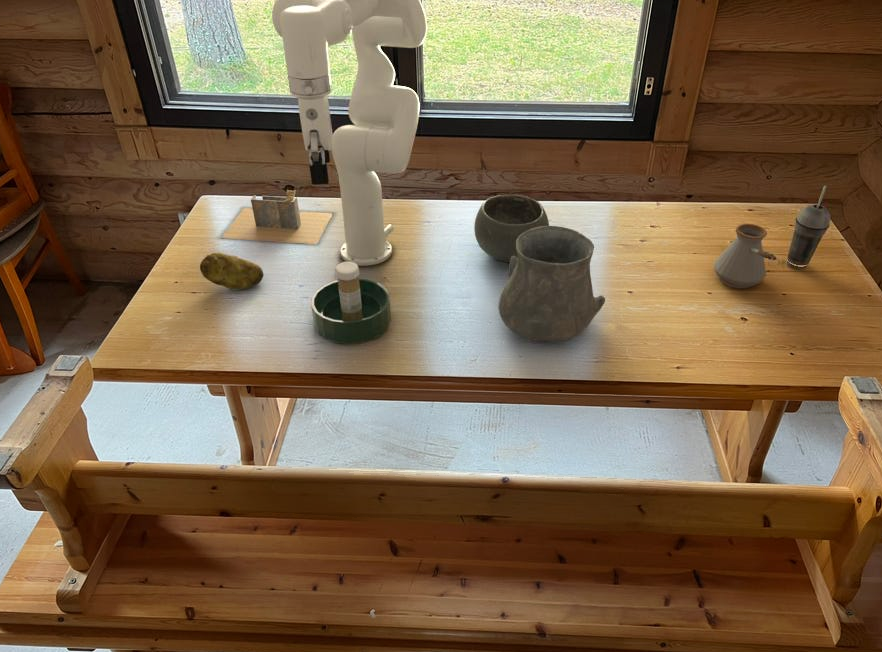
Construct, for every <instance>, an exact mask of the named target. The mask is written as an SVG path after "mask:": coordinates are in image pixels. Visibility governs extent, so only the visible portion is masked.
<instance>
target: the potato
mask: <svg viewBox="0 0 882 652" xmlns="http://www.w3.org/2000/svg"><path fill="white" fill-rule="evenodd" d="M199 269H200V272H201V274H202V275H203V277H204V278H205V279H206V280H207V281H209V282H211V283H213V284H214V285H215V286H216V285H217V286H222V287H224V288H226V289H228V290H233V291H239V290H246V289H250V288H252V287H254V286H257V285H258V284H260V283H261V282H262V280H263V278H264V272H263V271H264V270H263V269H262V267H261V266H260V265H258V263H255V262H252V261H249V260H247V259H244V258H240V257H238V256H236V255H232V254H227V253H223V252H213V253H211V254H207V255H206V256H205V257H204V258H203V259H202V261H201V262H200V263H199Z"/></svg>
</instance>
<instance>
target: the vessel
mask: <svg viewBox="0 0 882 652" xmlns="http://www.w3.org/2000/svg"><path fill="white" fill-rule="evenodd" d="M516 250H517V255H518V259H517V258H516V256H512V257H511V259H510V262H509V265H508V266H509V267H508V280H507V282H506V284H505V285H504V287H503V288H502V290H501V292H500V296H499V300H498V301H499V302H498V312H499V316H500V318H501V321H502V322H503V324H504V325H505V326H506V327H507V328H508V330H509V331H510V332H511V333H512V334H515V335H517V336H519V337H522V338H525V339H527V340H528V339H529V340H533V341H539V342H553V343H555V342H562V341H566V340H570V339H572V338H575V337H577V336H579V335H581V334H582V333H583V332H584V331H585V330H586V329H587V328H588V326H589V325H590V324H591V323H592V321H593V319H594V318H595V316H596V315H597V314H598V313H599V312H600V310H601V309H602V307H603V306H604V304H606V303H605V302H606V297H604V295H598V296H594V290H593V283H592V282H593V281H592V277H591V276H592V275H591V261H592V257H593V254H594V251H595V245H594V243H593V241H592V240H591V239H590V238H588V237H587V236H586V235H584V234H582V233H581V232H579V231H577V230H575V229H572V228H568V227H564V226H558V225H549V226H540V227H536V228H532V229H530V230H527V231H525V232H523V233H522V234H521V235H520V236H519V237H518V239H517V240H516Z"/></svg>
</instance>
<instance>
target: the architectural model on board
mask: <svg viewBox="0 0 882 652" xmlns="http://www.w3.org/2000/svg"><path fill="white" fill-rule="evenodd" d="M285 193H286V196H273V195H262V197H261V198H262V199H257V197H256V196H257V195H256V194H254V195H253V196H252V197H251V198H250V203H251V208H250V207H249V208H248V207H243V209H242V210H240V212H239V214H237V216H236V218H235V219H234V220H233V222H232V223H231V224H230V225H229V227H228V228H227V229H226V231H225V232H224V233H223V235H222V237H221V239H230V240H231V239H232V240H246V241H262V242H276V243H277V242H278V243H292V244H305V245H306V244H307V245H317V244H318V243H319V240H320V239H321V237H322V235H323V233H324V231H325V229H326V228H327V226H328V224H329V222H330V220H331V219H332V216H333V213H330V212H317V211H316V212H314V211H300V210H299V209H300V208H299V202H298V201H299V200H298V197H295V195H296V190H289V189H287V190H286V191H285Z"/></svg>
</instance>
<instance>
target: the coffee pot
mask: <svg viewBox="0 0 882 652" xmlns="http://www.w3.org/2000/svg"><path fill="white" fill-rule="evenodd" d="M734 231H735V233H736V237H735V238H734V239H733V241H731V243H729V245H728V246H727V247H726V248H725V249H724V250H723V251H722V253H720V255H719V256H718V257H717V258H716V259H715V261H714V263H713V269H714V273H715V275H716V276H717V277H718V278H719V280H720V281H721V282H722V283H723V284H725V285H726V286H728V287H731V288H735V289H747V288H750V287H753V286H755V285H758V284H760V283H761V282H762V281H763V280H764V279H765V278H766V275H767V269H766V263H765V259H767V260H768V261H767V264H768V266H770V267H771V268H777V267H778V266H779V265H780V263H781V262H780V261H781V260H779V258H777V257H776V256H775V255H774V254H773V253H770V252H768V251H765V250H764V249H763V242H762V241H763V240H764V239H765V238H766V237H767V235H768V231H767V230H766V229H765V228H764V227H762V226H761V225H758V224H754V223H741V224H739V225H738V226H736V227H735V230H734ZM770 261H778V264H777V265H774V266H773V265H770Z"/></svg>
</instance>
